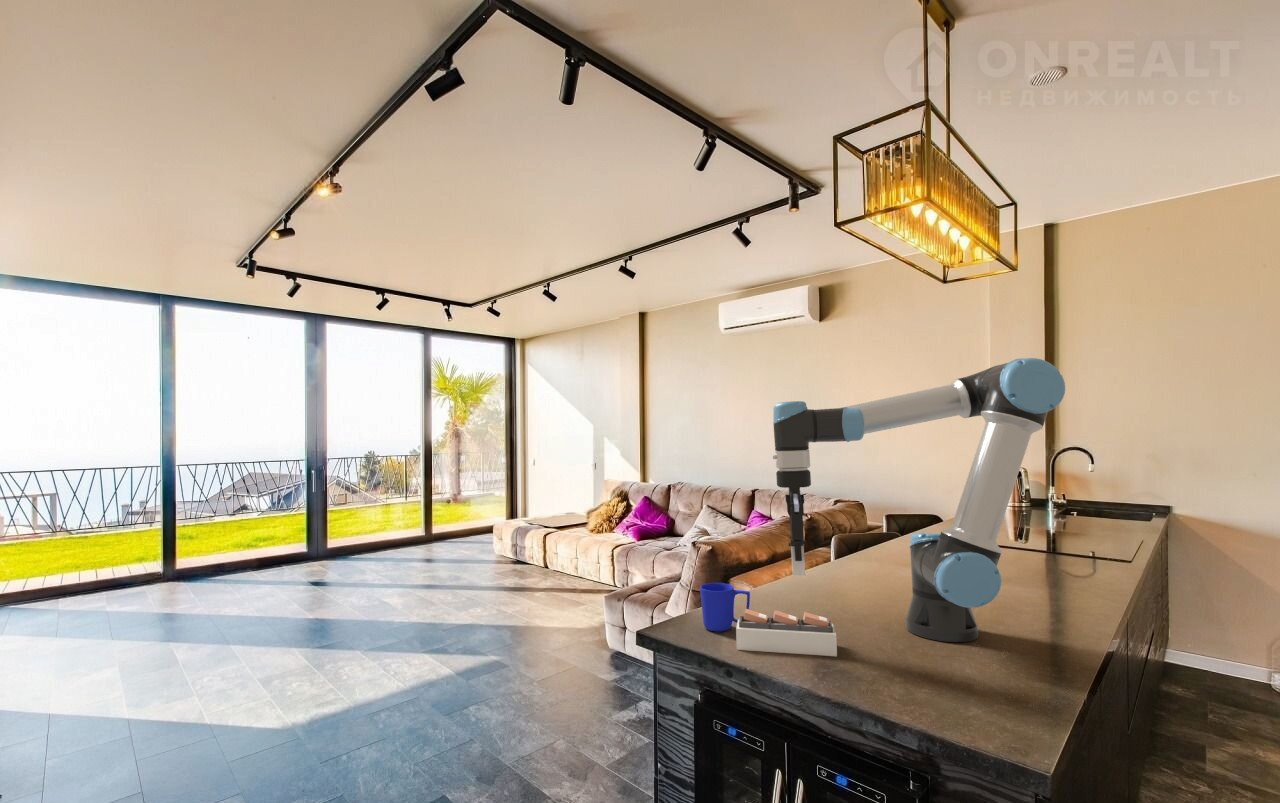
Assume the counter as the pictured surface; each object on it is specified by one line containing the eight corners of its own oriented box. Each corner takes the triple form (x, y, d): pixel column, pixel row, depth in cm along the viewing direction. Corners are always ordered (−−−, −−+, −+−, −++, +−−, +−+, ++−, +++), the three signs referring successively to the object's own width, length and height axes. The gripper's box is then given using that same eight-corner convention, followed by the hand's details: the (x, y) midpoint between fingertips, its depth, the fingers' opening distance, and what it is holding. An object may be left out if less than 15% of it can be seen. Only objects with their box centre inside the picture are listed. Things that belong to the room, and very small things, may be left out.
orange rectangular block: (826, 624, 127) (827, 617, 127) (827, 629, 124) (828, 622, 124) (803, 617, 128) (804, 611, 128) (803, 622, 125) (805, 615, 125)
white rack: (833, 644, 128) (832, 619, 128) (837, 656, 121) (836, 629, 122) (738, 638, 133) (738, 614, 133) (736, 649, 126) (736, 624, 126)
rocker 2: (795, 623, 128) (797, 616, 128) (796, 627, 125) (797, 621, 125) (773, 615, 130) (775, 609, 130) (773, 620, 126) (775, 613, 126)
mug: (750, 635, 135) (749, 592, 135) (699, 633, 137) (698, 590, 138) (751, 624, 143) (749, 583, 143) (702, 622, 145) (701, 582, 146)
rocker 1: (765, 621, 130) (767, 615, 130) (765, 625, 127) (767, 619, 127) (744, 614, 131) (745, 608, 131) (743, 618, 128) (745, 612, 128)
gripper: (775, 468, 138) (780, 568, 136) (776, 471, 125) (782, 581, 123) (807, 467, 136) (813, 568, 135) (812, 470, 123) (819, 582, 122)
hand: (798, 574), depth 129 cm, fingers closed
